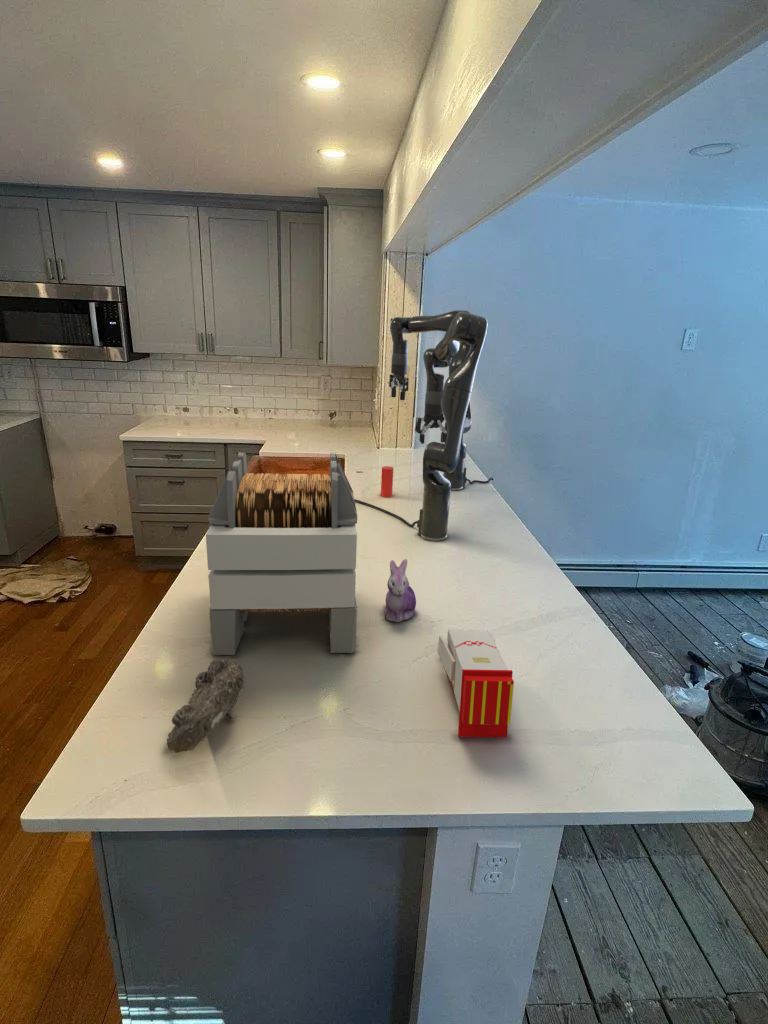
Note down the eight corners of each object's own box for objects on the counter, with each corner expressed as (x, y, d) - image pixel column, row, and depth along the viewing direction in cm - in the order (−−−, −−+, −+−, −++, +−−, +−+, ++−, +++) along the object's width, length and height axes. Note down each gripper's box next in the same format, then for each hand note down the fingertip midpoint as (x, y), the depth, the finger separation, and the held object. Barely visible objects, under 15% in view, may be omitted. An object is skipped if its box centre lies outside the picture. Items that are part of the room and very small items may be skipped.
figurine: (392, 627, 141) (395, 572, 136) (374, 608, 149) (376, 556, 144) (425, 619, 145) (429, 566, 140) (405, 601, 154) (408, 550, 149)
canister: (387, 498, 237) (389, 469, 233) (378, 495, 239) (379, 467, 235) (394, 495, 241) (395, 467, 237) (384, 493, 243) (386, 465, 239)
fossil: (192, 660, 117) (244, 628, 112) (224, 691, 120) (276, 661, 115) (142, 746, 98) (202, 712, 93) (182, 779, 101) (242, 748, 96)
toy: (488, 613, 130) (523, 677, 101) (484, 667, 133) (517, 744, 104) (435, 612, 130) (455, 676, 101) (432, 666, 133) (451, 743, 103)
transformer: (231, 586, 157) (223, 443, 144) (349, 585, 161) (352, 445, 147) (209, 657, 126) (197, 482, 112) (356, 653, 129) (362, 483, 116)
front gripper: (447, 399, 225) (445, 439, 230) (414, 400, 220) (412, 441, 226) (455, 403, 218) (452, 444, 224) (421, 404, 214) (418, 446, 220)
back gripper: (385, 361, 264) (383, 396, 270) (400, 364, 252) (398, 401, 258) (399, 361, 268) (397, 396, 273) (414, 364, 256) (412, 400, 261)
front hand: (432, 442), depth 225 cm, fingers open, 8 cm apart
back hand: (397, 398), depth 266 cm, fingers open, 8 cm apart
